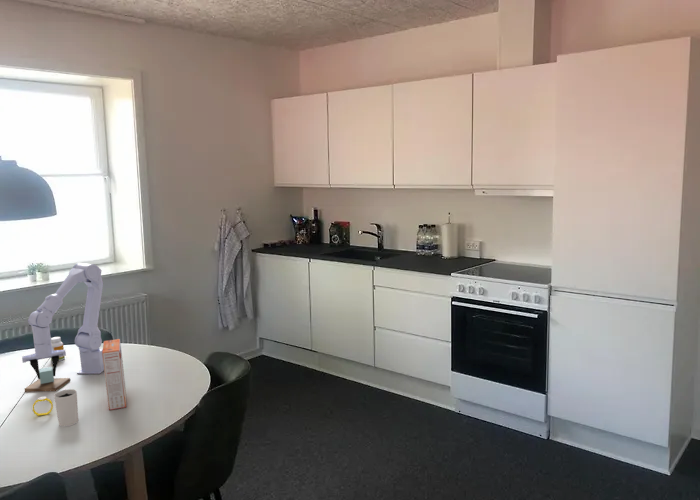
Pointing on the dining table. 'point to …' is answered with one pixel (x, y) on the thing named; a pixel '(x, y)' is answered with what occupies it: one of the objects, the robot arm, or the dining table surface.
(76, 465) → the dining table surface
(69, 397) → the white cup
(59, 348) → the supplement bottle
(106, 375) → the cracker box
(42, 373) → the teal cube
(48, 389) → the walnut board
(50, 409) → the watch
